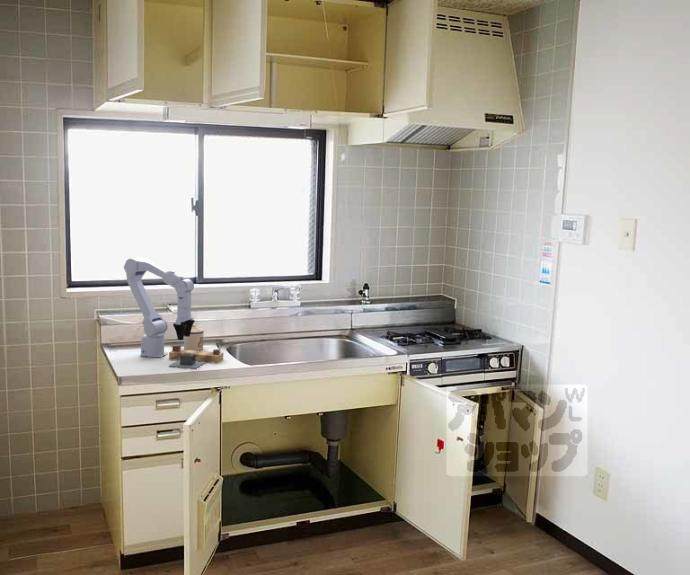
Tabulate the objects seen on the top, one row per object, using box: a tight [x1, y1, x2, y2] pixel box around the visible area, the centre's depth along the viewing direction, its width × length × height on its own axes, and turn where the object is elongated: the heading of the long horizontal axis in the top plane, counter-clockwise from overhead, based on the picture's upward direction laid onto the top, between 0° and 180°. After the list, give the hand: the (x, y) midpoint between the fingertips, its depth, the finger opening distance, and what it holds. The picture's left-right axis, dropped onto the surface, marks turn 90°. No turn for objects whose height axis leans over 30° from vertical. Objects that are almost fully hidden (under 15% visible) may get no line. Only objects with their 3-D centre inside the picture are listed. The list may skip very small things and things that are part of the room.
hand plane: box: [168, 344, 224, 364], centre depth 312 cm, size 22×7×5 cm, turn 82°
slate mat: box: [168, 360, 206, 370], centre depth 302 cm, size 12×10×1 cm
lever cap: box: [180, 352, 195, 366], centre depth 301 cm, size 5×4×5 cm
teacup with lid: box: [183, 323, 205, 351], centre depth 331 cm, size 12×9×12 cm
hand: (183, 338), depth 310 cm, fingers open, 7 cm apart
